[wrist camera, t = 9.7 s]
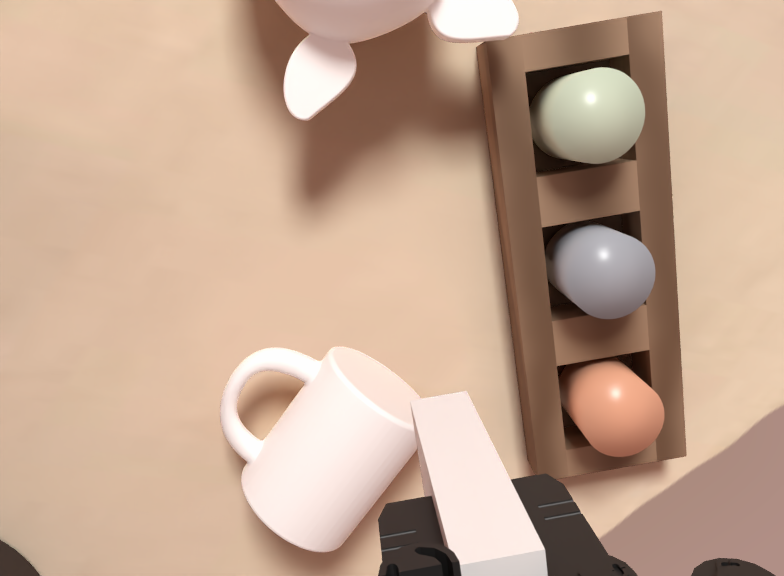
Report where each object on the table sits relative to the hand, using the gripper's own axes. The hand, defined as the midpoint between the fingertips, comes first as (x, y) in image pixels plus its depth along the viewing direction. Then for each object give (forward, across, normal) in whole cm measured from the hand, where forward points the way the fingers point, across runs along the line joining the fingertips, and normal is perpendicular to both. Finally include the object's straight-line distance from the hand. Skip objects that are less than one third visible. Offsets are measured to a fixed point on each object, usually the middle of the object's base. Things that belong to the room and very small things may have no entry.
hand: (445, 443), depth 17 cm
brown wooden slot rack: (+25, +13, -2) cm, 28 cm away
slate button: (+25, +13, -2) cm, 28 cm away
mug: (+26, -6, -9) cm, 28 cm away
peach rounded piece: (+25, +13, -11) cm, 30 cm away
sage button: (+25, +13, +7) cm, 29 cm away
